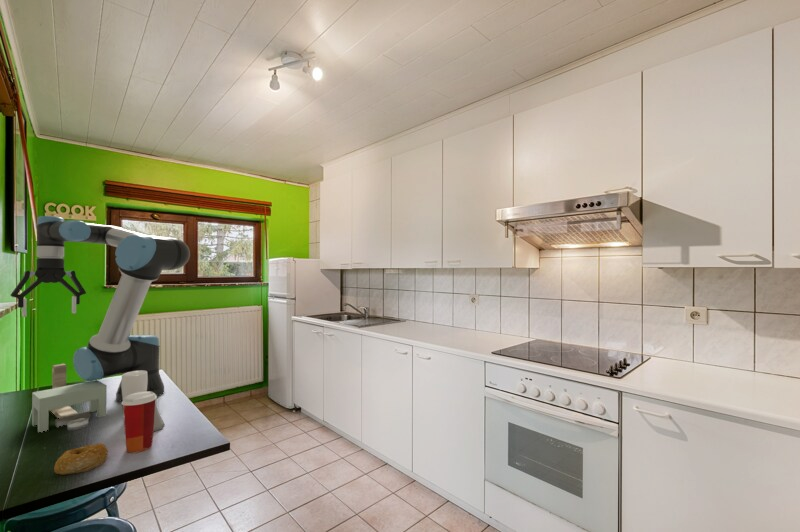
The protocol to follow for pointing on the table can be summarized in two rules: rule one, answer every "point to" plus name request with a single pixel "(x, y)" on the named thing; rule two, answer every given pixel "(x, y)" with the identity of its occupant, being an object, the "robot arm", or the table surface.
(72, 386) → the white bridge stand
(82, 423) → the steel disc
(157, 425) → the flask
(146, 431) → the paper cup
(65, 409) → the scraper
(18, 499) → the table surface
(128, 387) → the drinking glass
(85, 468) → the bagel
